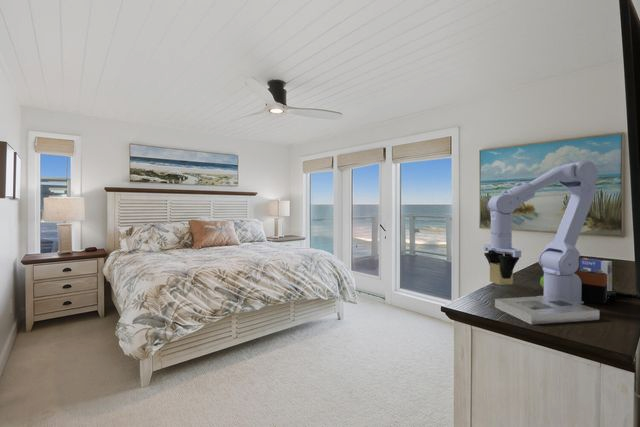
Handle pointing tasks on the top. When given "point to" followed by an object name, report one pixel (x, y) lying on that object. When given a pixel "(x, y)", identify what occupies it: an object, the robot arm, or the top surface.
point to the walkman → (598, 268)
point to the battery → (593, 286)
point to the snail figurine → (542, 281)
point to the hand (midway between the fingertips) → (501, 276)
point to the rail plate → (546, 309)
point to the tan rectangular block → (498, 274)
